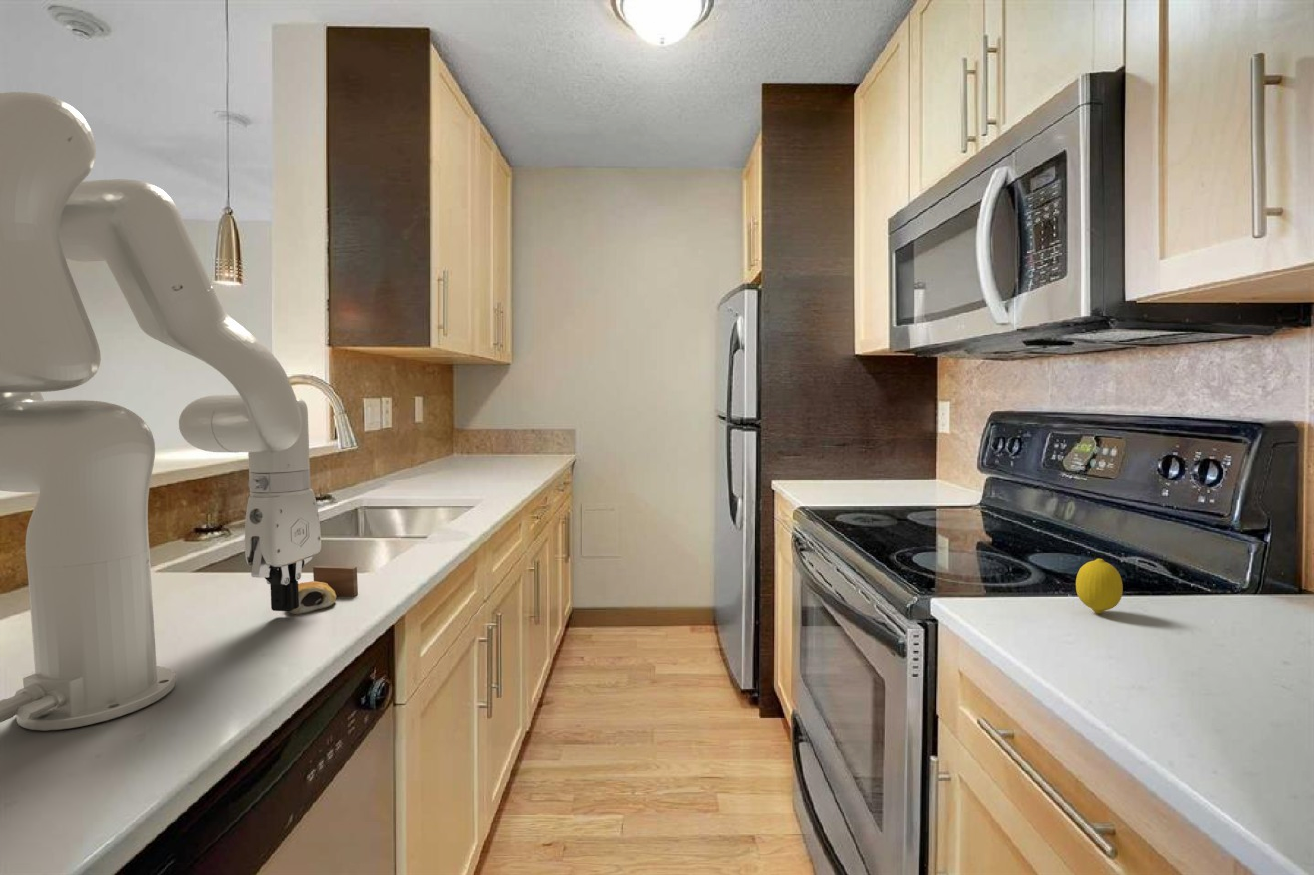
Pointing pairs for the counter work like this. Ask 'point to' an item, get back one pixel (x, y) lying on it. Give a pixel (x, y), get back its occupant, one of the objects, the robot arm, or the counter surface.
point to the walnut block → (338, 579)
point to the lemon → (1099, 585)
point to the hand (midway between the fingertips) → (285, 609)
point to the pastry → (314, 597)
